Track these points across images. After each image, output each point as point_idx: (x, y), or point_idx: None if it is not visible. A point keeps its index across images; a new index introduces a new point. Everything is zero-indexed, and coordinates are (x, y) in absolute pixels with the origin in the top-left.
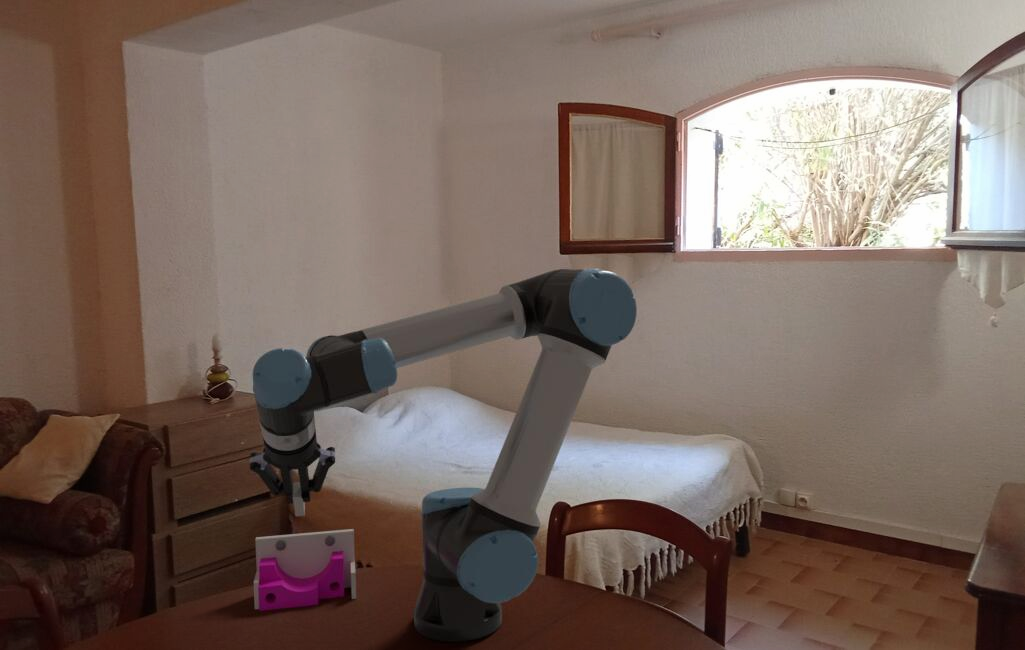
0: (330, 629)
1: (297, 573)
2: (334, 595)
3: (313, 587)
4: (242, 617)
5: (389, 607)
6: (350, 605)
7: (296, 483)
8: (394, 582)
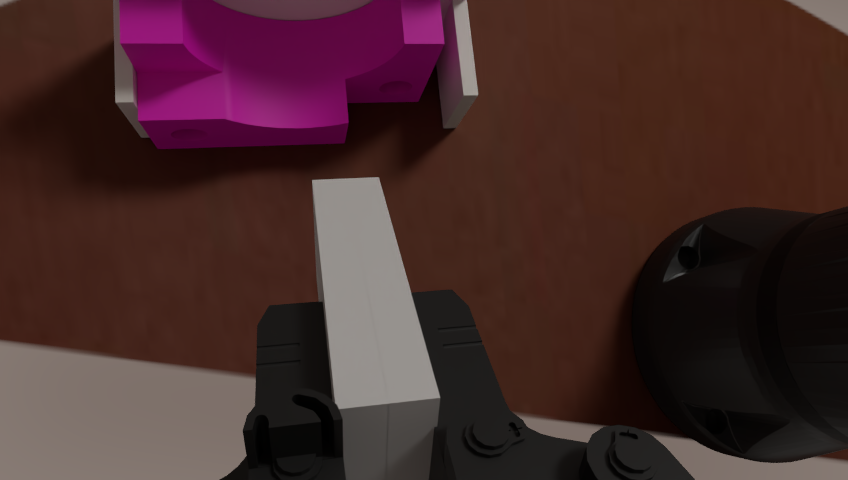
0: None
1: (267, 9)
2: (390, 100)
3: (333, 112)
4: (107, 187)
5: (555, 205)
6: (442, 169)
7: (376, 414)
8: (556, 39)
